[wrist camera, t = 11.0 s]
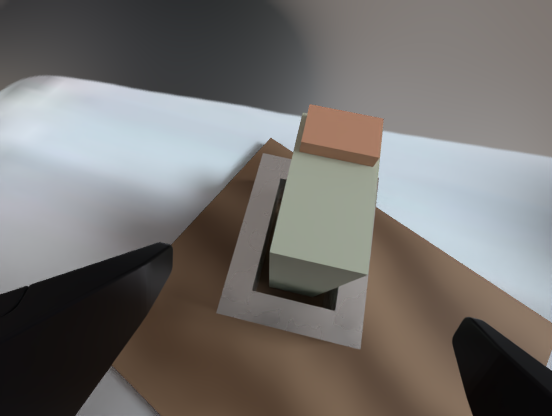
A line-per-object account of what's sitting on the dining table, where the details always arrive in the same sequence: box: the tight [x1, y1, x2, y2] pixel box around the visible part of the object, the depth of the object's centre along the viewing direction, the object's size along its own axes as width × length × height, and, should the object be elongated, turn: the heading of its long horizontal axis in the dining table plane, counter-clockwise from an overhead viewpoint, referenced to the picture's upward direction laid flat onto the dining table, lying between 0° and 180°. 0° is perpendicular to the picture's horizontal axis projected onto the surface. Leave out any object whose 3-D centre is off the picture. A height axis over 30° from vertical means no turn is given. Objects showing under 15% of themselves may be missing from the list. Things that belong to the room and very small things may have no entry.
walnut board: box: [112, 138, 552, 416], centre depth 18 cm, size 19×24×1 cm
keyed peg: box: [269, 105, 383, 297], centre depth 14 cm, size 5×3×12 cm, turn 167°
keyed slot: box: [216, 153, 379, 349], centre depth 18 cm, size 10×8×4 cm
